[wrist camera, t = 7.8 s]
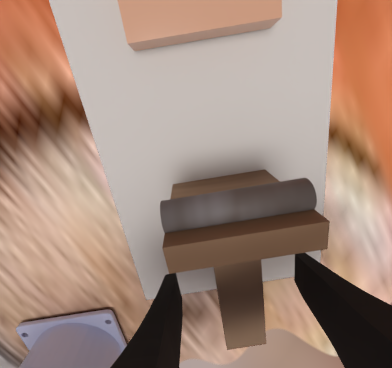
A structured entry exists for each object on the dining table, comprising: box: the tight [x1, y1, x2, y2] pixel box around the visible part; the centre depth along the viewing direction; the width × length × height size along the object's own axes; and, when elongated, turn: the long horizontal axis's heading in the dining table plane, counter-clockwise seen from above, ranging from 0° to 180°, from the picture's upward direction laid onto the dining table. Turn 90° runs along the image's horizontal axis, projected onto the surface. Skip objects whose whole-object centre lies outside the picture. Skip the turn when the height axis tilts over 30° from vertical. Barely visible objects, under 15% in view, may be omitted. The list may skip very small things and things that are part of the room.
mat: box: [49, 0, 337, 300], centre depth 13 cm, size 25×14×1 cm, turn 9°
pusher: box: [160, 169, 329, 350], centre depth 12 cm, size 11×6×6 cm, turn 9°
